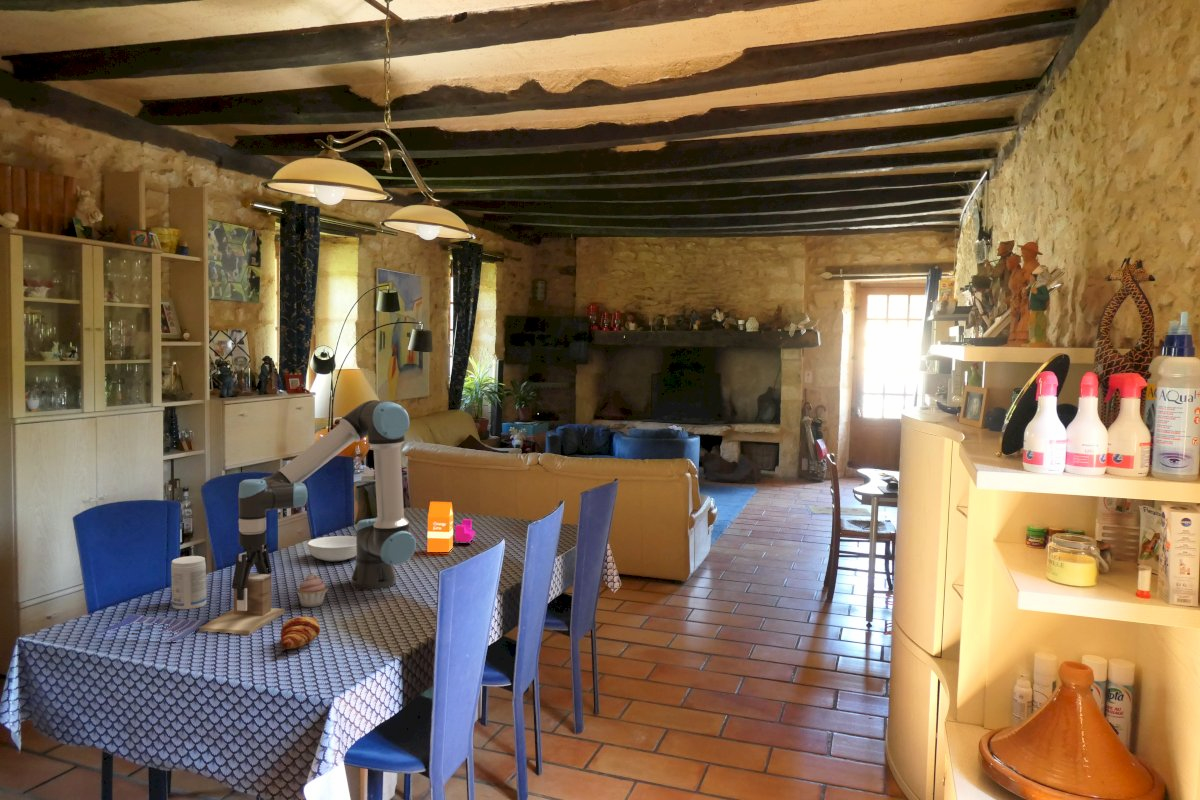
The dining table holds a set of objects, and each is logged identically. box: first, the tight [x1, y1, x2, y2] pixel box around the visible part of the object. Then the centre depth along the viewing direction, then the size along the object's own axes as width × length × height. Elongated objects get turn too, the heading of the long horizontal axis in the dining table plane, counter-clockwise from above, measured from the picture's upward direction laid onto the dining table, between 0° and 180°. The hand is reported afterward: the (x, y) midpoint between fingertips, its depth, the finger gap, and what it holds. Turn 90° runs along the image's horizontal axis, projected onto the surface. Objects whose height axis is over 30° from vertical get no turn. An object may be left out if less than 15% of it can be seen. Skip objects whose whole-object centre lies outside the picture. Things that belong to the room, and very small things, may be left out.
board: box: [198, 607, 286, 636], centre depth 238 cm, size 15×20×1 cm
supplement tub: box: [170, 555, 208, 610], centre depth 251 cm, size 10×10×15 cm
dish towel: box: [98, 613, 209, 641], centre depth 228 cm, size 17×24×3 cm
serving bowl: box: [307, 535, 357, 562], centre depth 313 cm, size 21×21×7 cm
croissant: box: [279, 615, 321, 650], centre depth 223 cm, size 21×10×8 cm
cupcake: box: [296, 573, 329, 608], centre depth 256 cm, size 9×9×10 cm
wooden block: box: [233, 572, 272, 616], centre depth 243 cm, size 9×5×11 cm, turn 84°
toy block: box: [454, 518, 476, 542], centre depth 350 cm, size 15×6×8 cm, turn 176°
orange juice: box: [426, 501, 454, 552], centre depth 329 cm, size 8×9×20 cm
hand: (252, 604), depth 243 cm, fingers open, 11 cm apart
